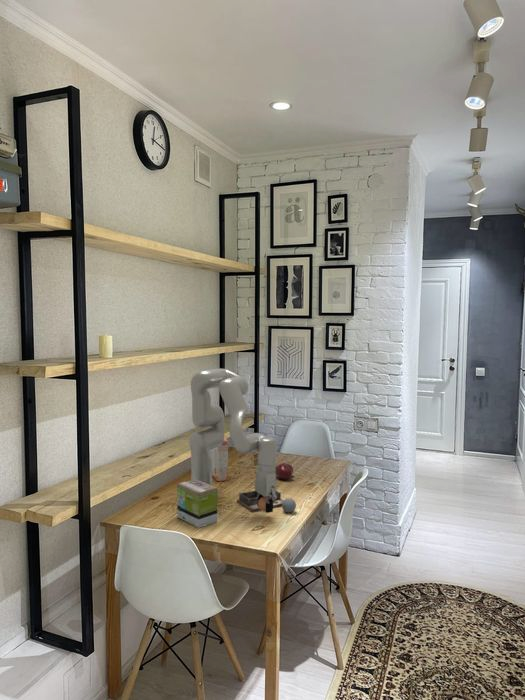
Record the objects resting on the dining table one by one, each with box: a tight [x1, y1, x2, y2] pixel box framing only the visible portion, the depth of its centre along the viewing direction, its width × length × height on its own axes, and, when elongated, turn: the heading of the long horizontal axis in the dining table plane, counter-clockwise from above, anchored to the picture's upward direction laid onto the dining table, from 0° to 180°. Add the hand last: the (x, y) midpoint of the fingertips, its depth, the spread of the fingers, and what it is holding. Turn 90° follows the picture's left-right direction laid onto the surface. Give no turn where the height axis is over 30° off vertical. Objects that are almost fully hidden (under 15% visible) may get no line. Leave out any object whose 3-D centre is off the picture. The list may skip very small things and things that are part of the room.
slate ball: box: [281, 497, 297, 514], centre depth 227 cm, size 6×6×6 cm
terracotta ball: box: [258, 497, 270, 513], centre depth 220 cm, size 6×6×6 cm
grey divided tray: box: [236, 490, 285, 514], centre depth 237 cm, size 18×14×4 cm
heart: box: [275, 462, 294, 481], centre depth 275 cm, size 12×8×10 cm
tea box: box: [176, 479, 218, 529], centre depth 217 cm, size 15×10×15 cm
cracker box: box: [209, 437, 229, 482], centre depth 274 cm, size 14×6×21 cm, turn 22°
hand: (265, 508), depth 220 cm, fingers closed on terracotta ball, 5 cm apart
